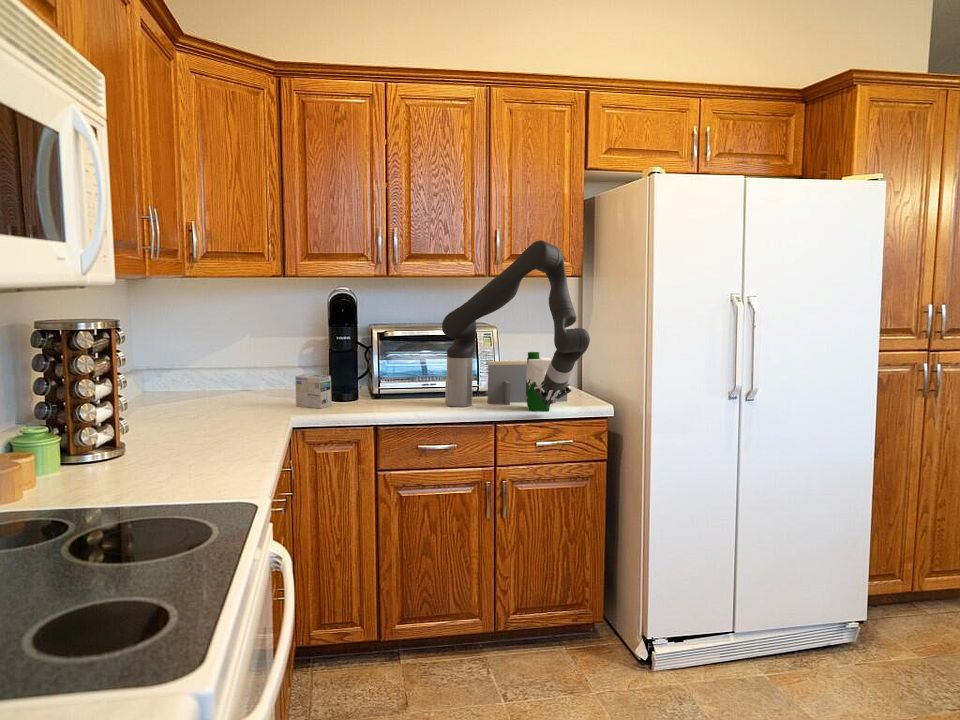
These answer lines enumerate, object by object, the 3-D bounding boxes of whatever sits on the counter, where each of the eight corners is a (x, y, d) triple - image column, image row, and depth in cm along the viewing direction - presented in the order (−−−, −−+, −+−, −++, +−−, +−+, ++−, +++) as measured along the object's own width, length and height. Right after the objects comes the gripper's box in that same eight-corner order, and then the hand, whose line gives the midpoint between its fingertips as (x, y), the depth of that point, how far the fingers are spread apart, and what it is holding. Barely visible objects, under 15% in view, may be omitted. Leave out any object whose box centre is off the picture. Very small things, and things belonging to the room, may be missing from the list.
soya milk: (524, 406, 260) (526, 350, 257) (550, 407, 259) (551, 351, 257) (526, 411, 251) (527, 353, 248) (552, 412, 251) (553, 354, 248)
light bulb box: (332, 405, 256) (331, 375, 255) (321, 409, 250) (320, 378, 248) (306, 403, 260) (306, 373, 259) (295, 406, 254) (294, 375, 252)
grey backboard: (489, 405, 261) (490, 363, 259) (485, 401, 267) (486, 361, 265) (572, 403, 267) (573, 362, 265) (566, 399, 274) (567, 360, 272)
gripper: (576, 363, 236) (563, 394, 249) (536, 363, 233) (525, 394, 246) (581, 382, 231) (567, 412, 245) (541, 382, 228) (529, 413, 242)
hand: (546, 403), depth 245 cm, fingers closed
